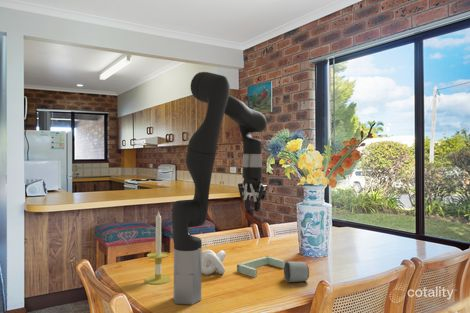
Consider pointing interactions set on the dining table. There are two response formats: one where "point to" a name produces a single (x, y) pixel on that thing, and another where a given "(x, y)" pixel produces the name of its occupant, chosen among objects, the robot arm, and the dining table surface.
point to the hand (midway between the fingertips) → (252, 210)
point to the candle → (158, 257)
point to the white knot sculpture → (212, 262)
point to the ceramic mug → (296, 271)
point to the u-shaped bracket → (250, 266)
